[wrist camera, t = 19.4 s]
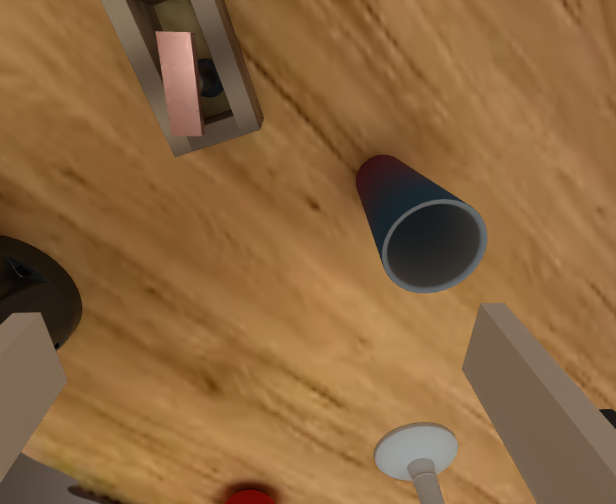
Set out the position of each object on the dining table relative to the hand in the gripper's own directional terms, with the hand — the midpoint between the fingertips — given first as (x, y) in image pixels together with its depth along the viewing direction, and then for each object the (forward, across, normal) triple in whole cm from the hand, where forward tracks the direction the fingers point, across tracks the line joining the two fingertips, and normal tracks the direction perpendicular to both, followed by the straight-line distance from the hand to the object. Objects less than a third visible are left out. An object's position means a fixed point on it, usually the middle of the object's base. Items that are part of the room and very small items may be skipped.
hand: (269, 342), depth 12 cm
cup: (+27, +10, -3) cm, 29 cm away
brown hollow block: (+27, -6, +8) cm, 28 cm away
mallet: (+27, -6, +6) cm, 28 cm away
